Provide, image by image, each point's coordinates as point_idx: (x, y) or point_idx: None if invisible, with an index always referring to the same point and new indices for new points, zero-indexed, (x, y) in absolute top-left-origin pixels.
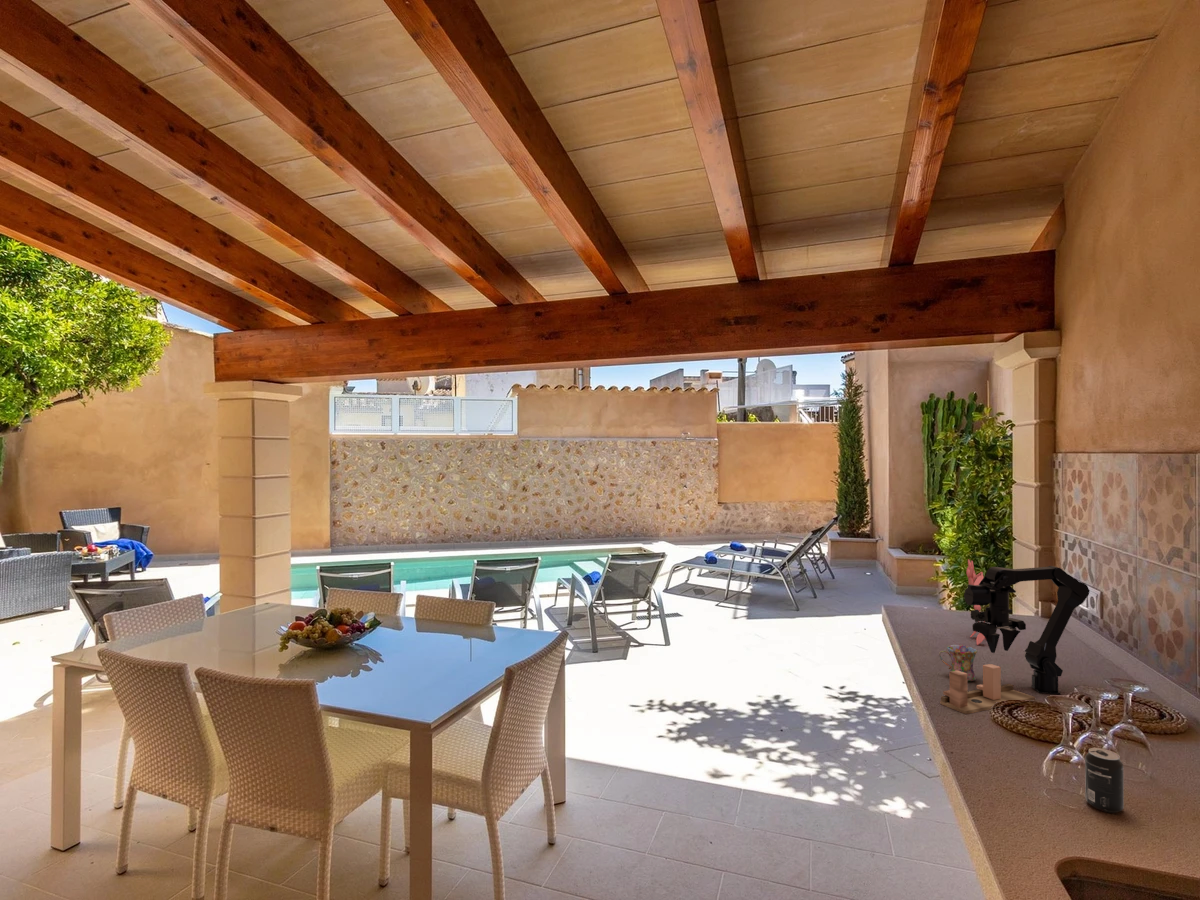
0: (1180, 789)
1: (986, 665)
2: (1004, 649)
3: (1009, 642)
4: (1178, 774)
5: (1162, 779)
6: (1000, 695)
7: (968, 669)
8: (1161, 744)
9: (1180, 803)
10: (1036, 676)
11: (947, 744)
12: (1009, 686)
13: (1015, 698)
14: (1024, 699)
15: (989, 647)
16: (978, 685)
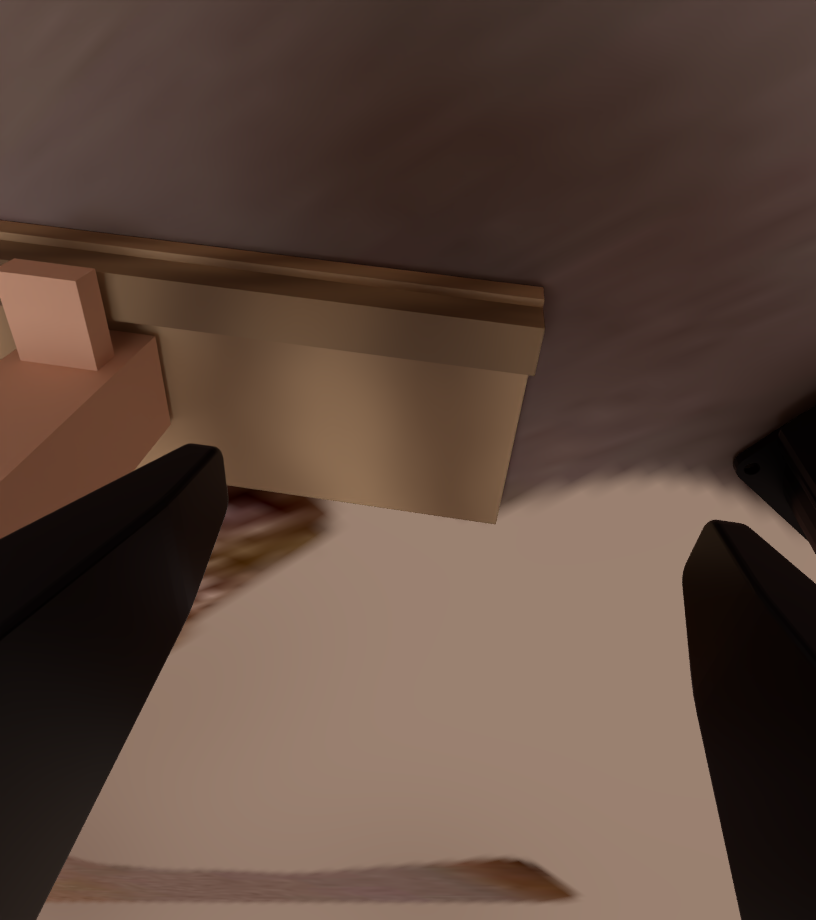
0: (132, 894)
1: None
2: (709, 537)
3: (742, 854)
4: (217, 891)
5: (141, 877)
6: (155, 438)
7: None
8: (415, 868)
9: (62, 894)
10: None
11: None
12: (468, 364)
13: (311, 466)
14: (365, 503)
15: (87, 505)
16: (6, 288)
